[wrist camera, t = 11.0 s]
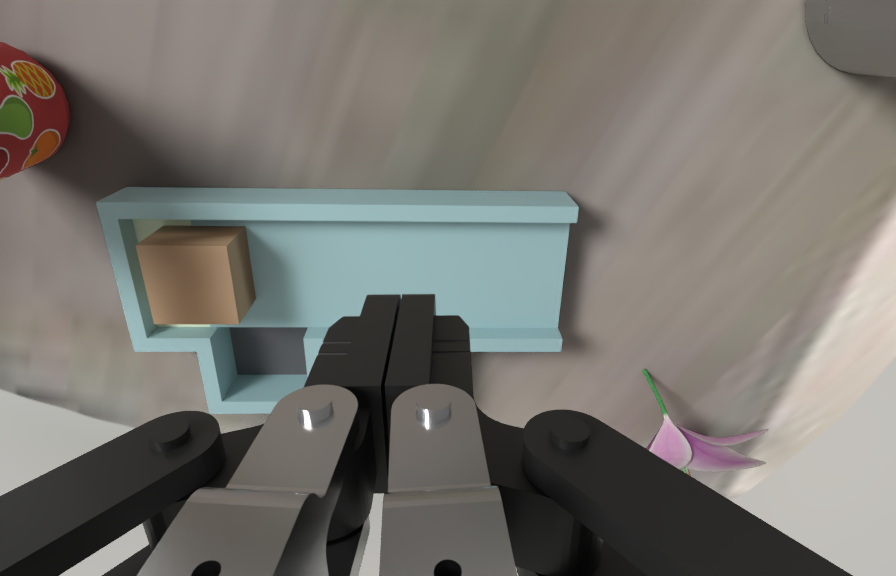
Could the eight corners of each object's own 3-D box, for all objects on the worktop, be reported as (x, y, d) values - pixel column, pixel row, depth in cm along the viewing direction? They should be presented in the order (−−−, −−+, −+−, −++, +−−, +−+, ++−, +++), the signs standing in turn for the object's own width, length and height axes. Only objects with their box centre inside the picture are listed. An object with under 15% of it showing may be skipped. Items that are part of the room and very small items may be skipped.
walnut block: (245, 226, 34) (226, 246, 30) (256, 298, 36) (239, 324, 33) (163, 225, 34) (135, 245, 30) (178, 298, 36) (154, 324, 32)
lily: (545, 425, 45) (595, 546, 39) (609, 342, 36) (684, 482, 30) (663, 405, 49) (723, 513, 43) (744, 327, 40) (833, 448, 35)
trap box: (565, 191, 35) (578, 206, 32) (544, 383, 42) (553, 412, 38) (126, 186, 34) (95, 202, 31) (172, 384, 41) (150, 413, 38)
